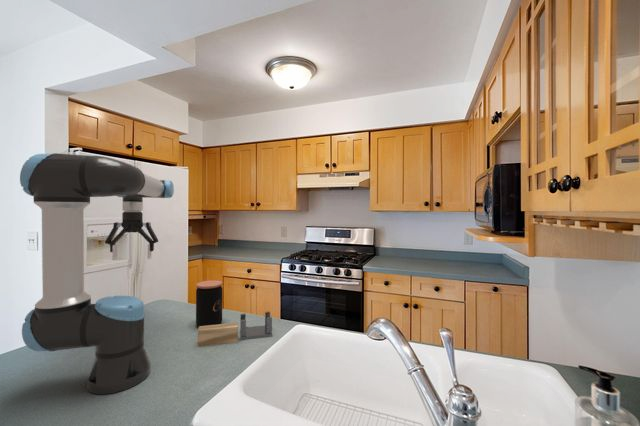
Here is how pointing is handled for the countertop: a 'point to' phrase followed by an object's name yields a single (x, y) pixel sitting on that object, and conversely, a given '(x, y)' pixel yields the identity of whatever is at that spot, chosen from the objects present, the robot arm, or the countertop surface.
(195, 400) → the countertop surface
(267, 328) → the bracket
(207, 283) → the coffee jar
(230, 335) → the block
